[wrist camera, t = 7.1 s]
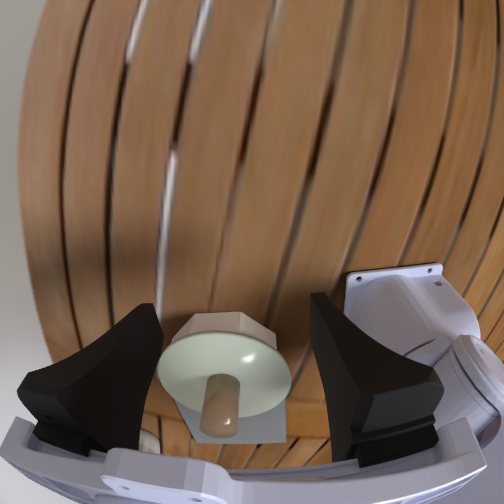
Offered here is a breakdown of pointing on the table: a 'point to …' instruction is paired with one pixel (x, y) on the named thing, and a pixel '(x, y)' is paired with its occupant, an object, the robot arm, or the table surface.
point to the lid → (224, 378)
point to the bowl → (227, 326)
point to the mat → (243, 427)
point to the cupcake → (148, 442)
